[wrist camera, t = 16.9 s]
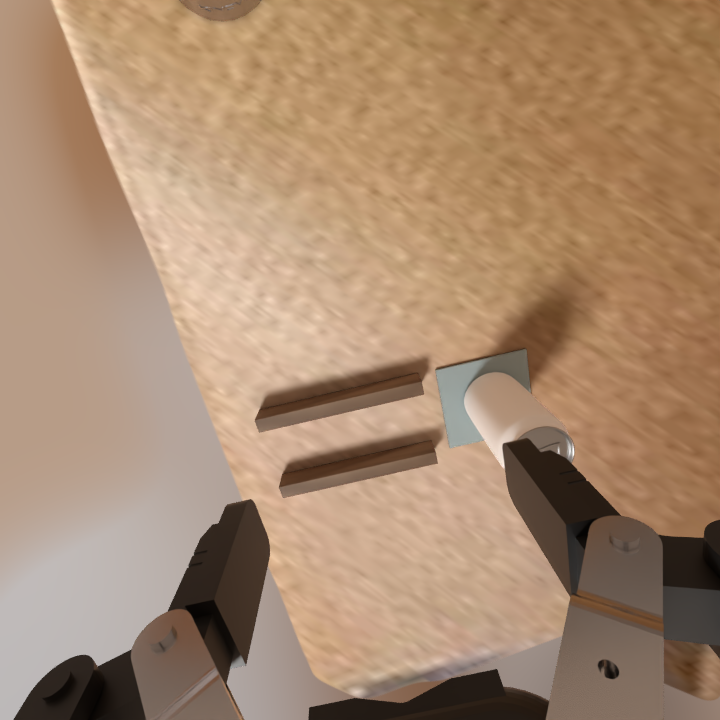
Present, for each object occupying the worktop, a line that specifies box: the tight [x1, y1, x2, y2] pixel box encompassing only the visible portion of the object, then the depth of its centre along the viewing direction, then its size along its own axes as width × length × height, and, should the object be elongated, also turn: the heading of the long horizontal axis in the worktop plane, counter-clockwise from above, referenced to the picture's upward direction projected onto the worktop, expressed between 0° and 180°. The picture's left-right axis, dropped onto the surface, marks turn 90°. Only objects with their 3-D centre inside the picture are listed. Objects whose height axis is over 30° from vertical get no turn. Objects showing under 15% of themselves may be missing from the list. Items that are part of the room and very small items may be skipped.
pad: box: [436, 349, 531, 448], centre depth 45 cm, size 10×10×1 cm
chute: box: [255, 373, 438, 498], centre depth 44 cm, size 10×18×2 cm, turn 103°
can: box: [464, 372, 575, 469], centre depth 39 cm, size 6×6×12 cm
